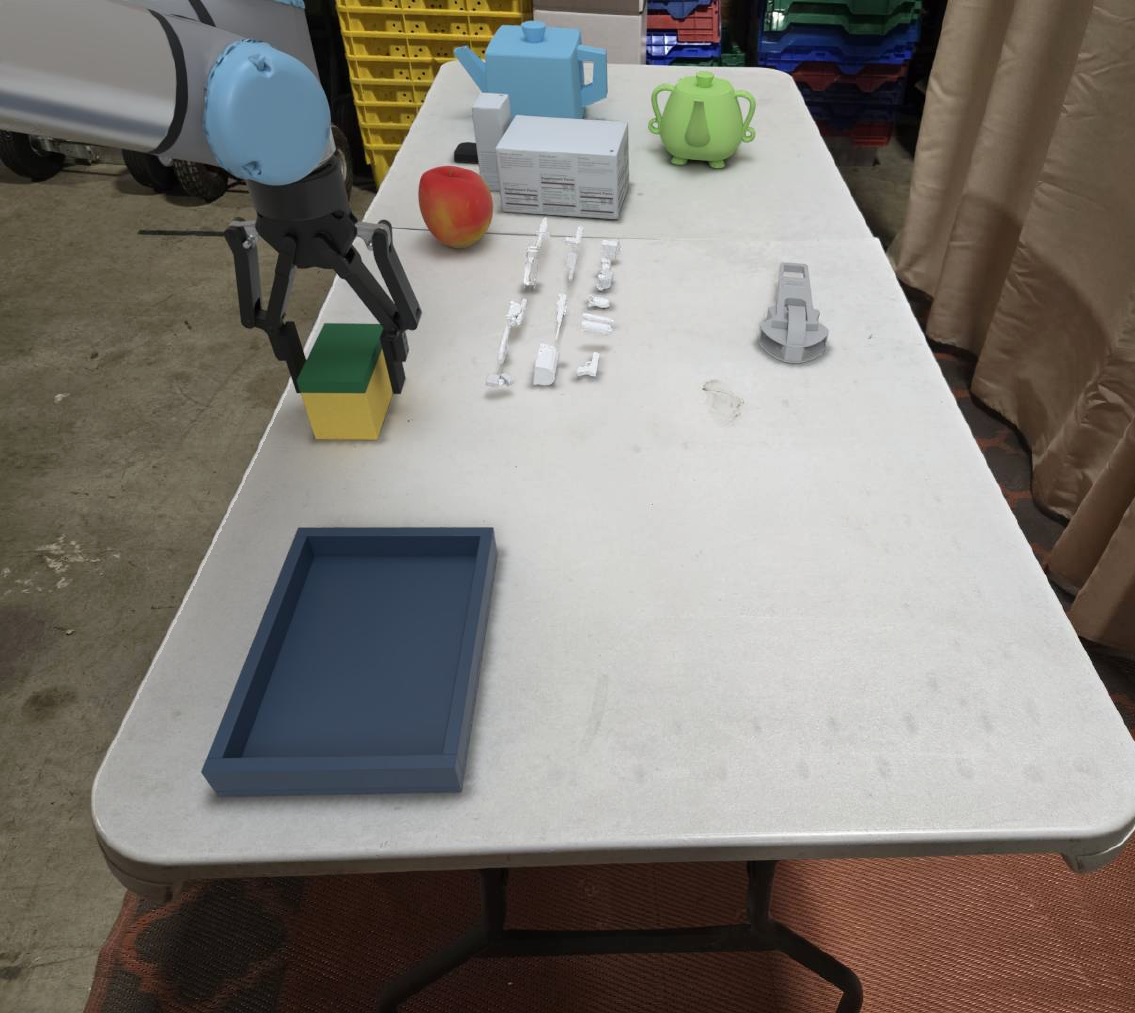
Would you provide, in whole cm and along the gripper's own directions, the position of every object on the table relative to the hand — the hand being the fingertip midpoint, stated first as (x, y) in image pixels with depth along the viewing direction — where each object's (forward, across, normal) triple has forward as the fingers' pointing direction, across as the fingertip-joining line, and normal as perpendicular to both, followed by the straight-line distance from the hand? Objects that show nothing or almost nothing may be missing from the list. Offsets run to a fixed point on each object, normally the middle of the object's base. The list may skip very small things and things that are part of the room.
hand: (351, 385), depth 84 cm
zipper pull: (+3, -48, -18) cm, 51 cm away
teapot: (+3, -39, -68) cm, 78 cm away
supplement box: (+3, -19, -52) cm, 55 cm away
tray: (+3, -8, +31) cm, 33 cm away
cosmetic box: (+3, -8, -56) cm, 57 cm away
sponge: (+3, 0, 0) cm, 3 cm away
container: (+3, -12, -82) cm, 83 cm away
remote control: (+3, -8, -65) cm, 66 cm away
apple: (+3, -5, -37) cm, 37 cm away
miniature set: (+3, -20, -19) cm, 28 cm away
